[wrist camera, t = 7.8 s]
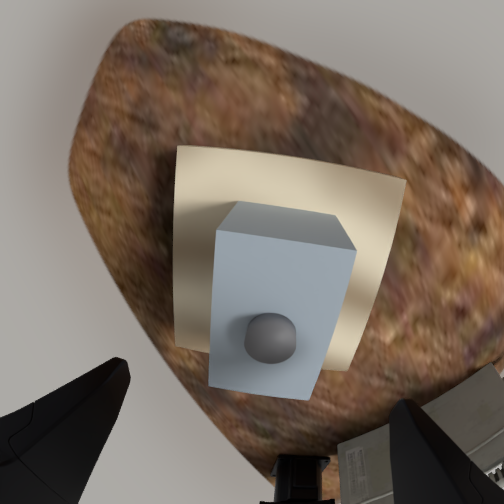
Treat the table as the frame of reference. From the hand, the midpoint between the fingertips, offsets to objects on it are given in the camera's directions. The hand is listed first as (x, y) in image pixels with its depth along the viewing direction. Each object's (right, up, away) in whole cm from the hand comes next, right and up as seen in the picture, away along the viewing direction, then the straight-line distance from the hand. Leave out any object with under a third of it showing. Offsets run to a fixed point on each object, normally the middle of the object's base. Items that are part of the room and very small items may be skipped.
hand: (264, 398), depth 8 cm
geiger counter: (+19, -11, +15) cm, 27 cm away
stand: (+1, +4, +11) cm, 12 cm away
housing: (+1, +3, +8) cm, 9 cm away
